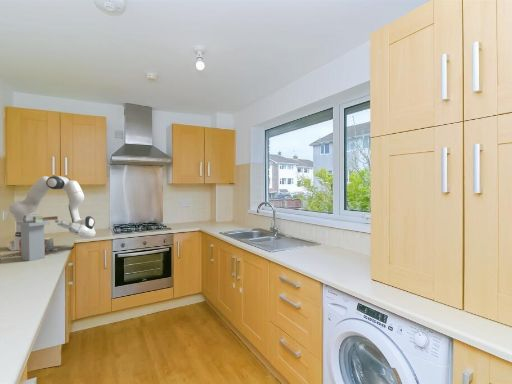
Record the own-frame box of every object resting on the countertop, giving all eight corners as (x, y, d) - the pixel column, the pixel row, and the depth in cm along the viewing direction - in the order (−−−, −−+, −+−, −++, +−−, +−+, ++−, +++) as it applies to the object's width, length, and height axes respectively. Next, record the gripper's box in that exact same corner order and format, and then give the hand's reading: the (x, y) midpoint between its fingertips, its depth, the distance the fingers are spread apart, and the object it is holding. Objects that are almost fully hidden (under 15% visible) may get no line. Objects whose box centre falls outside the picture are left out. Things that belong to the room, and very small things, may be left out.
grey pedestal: (17, 258, 198) (16, 221, 197) (37, 254, 208) (36, 219, 207) (29, 262, 189) (29, 223, 188) (50, 257, 199) (49, 221, 199)
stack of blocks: (47, 248, 228) (47, 233, 227) (53, 249, 226) (53, 234, 226) (19, 255, 207) (18, 238, 207) (25, 255, 205) (25, 239, 205)
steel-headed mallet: (23, 222, 195) (22, 215, 194) (55, 219, 212) (54, 212, 212) (26, 222, 192) (26, 215, 192) (58, 219, 210) (58, 212, 209)
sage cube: (32, 222, 194) (32, 216, 194) (39, 221, 197) (39, 216, 197) (35, 222, 192) (35, 216, 192) (42, 222, 195) (42, 216, 195)
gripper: (70, 223, 229) (53, 216, 218) (84, 225, 219) (68, 218, 209) (66, 230, 227) (49, 224, 216) (80, 233, 217) (63, 226, 206)
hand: (58, 221), depth 212 cm, fingers open, 8 cm apart
